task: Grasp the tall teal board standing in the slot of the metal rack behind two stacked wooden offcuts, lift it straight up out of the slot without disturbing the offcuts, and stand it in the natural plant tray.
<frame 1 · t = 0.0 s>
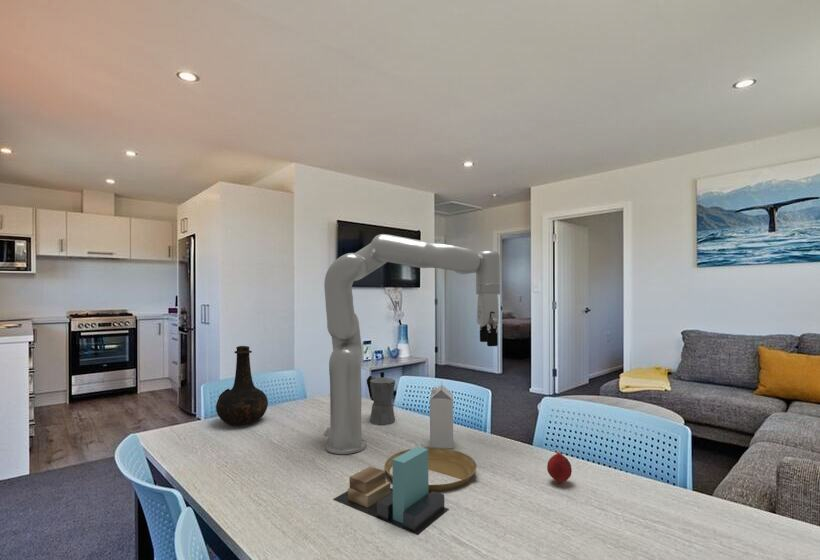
hand: (488, 343, 136), 31 cm above the table, tool pointing down, fingers open, 9 cm apart
onion: (559, 483, 108), on the table
plant saucer: (430, 476, 113), on the table
offcut high: (367, 484, 100), point 3 cm above the table, touching offcut low
glass bottle: (242, 423, 157), on the table
coffeepot: (380, 421, 159), on the table
rack: (389, 508, 96), on the table
milk carton: (441, 445, 135), on the table
teal board: (411, 512, 93), point 1 cm above the table, touching rack
offcut low: (369, 496, 100), point 1 cm above the table, touching offcut high, rack
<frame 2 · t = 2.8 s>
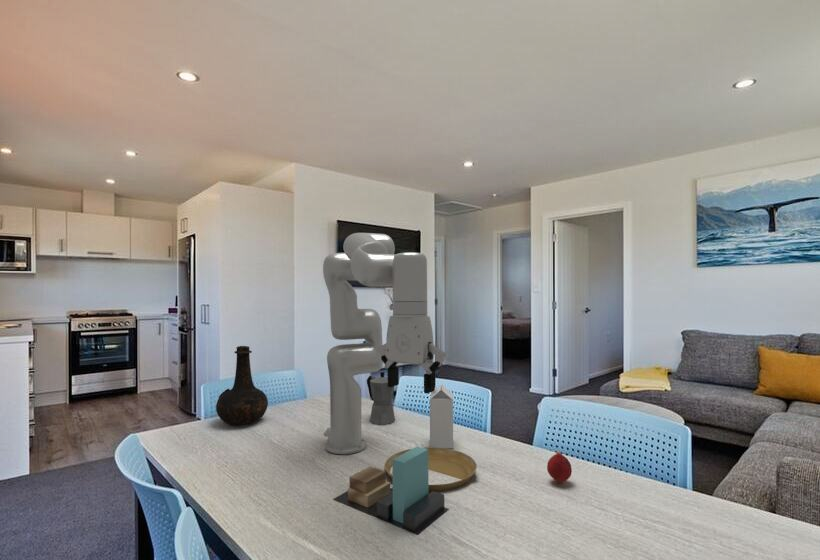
hand: (410, 388, 93), 28 cm above the table, tool pointing down, fingers open, 9 cm apart
nothing on the table moved.
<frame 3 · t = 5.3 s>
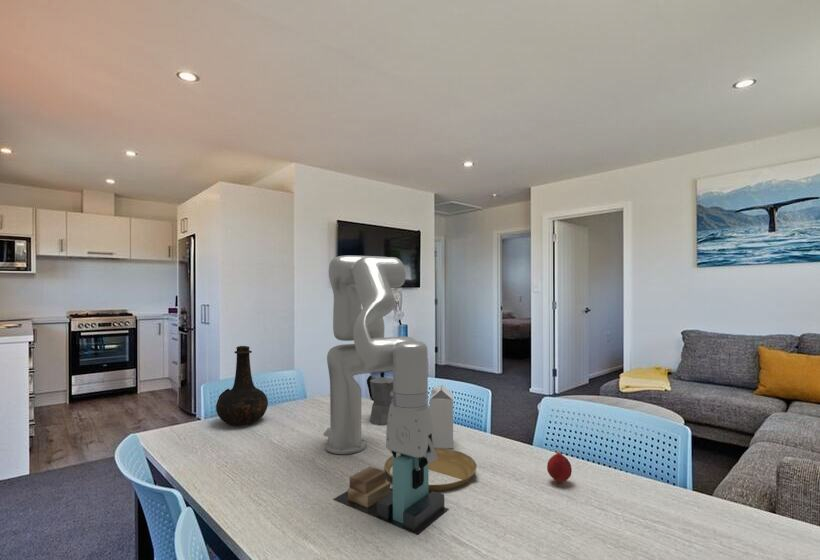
hand: (411, 483, 93), 7 cm above the table, tool pointing down, fingers closed on teal board, 3 cm apart
teal board: (411, 512, 93), point 1 cm above the table, touching gripper, rack
everything else where it was.
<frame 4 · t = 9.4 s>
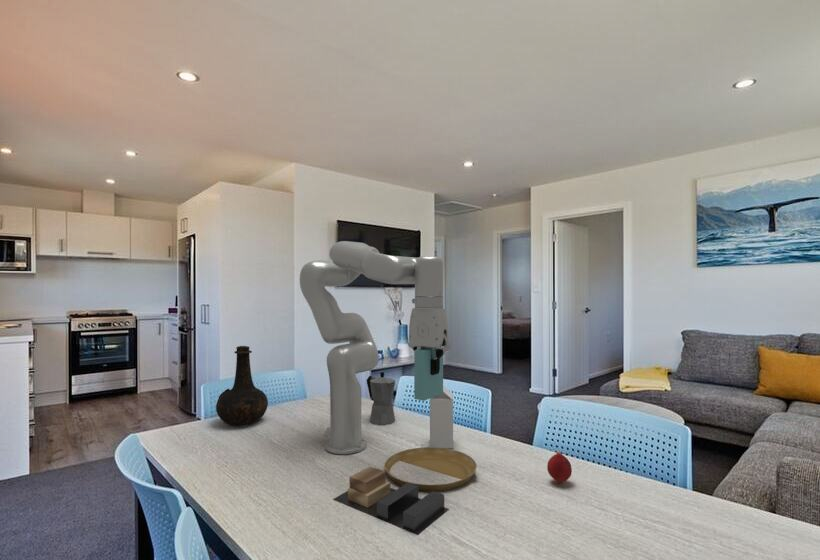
hand: (429, 372, 113), 27 cm above the table, tool pointing down, fingers closed on teal board, 3 cm apart
teal board: (429, 396, 113), point 21 cm above the table, touching gripper
everything else where it was.
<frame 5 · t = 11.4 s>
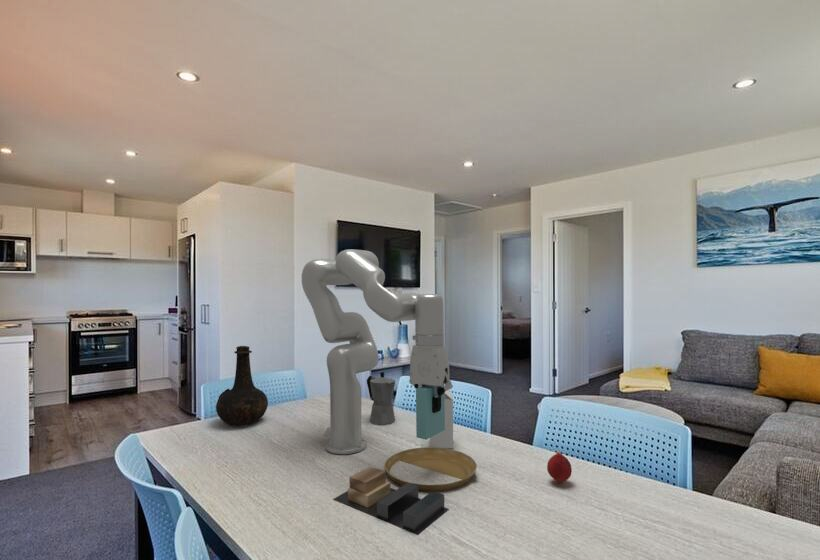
hand: (430, 409, 113), 17 cm above the table, tool pointing down, fingers closed on teal board, 3 cm apart
teal board: (431, 433, 113), point 11 cm above the table, touching gripper
everything else where it was.
when the fingers open (10 cm above the table, at t = 13.4 s): teal board drops 1 cm, point 3 cm above the table.
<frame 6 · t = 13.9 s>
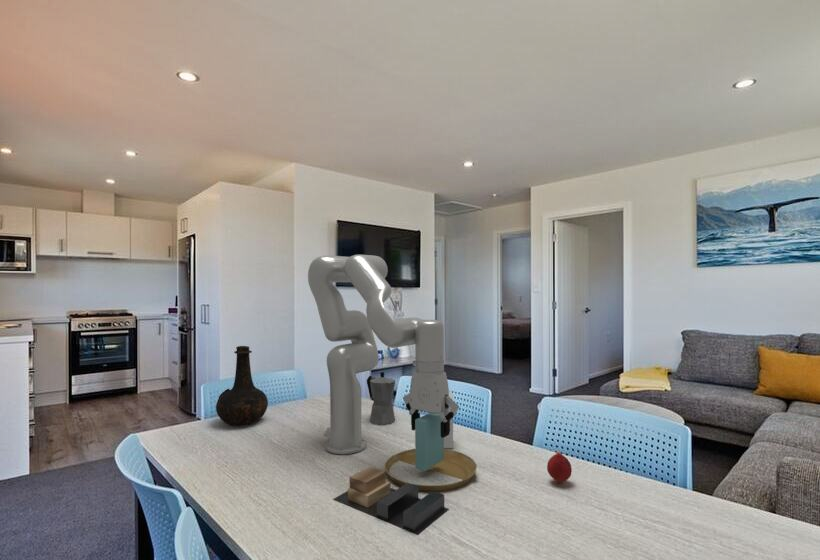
hand: (430, 432, 113), 11 cm above the table, tool pointing down, fingers open, 8 cm apart
teal board: (430, 463, 113), point 3 cm above the table
everything else where it was.
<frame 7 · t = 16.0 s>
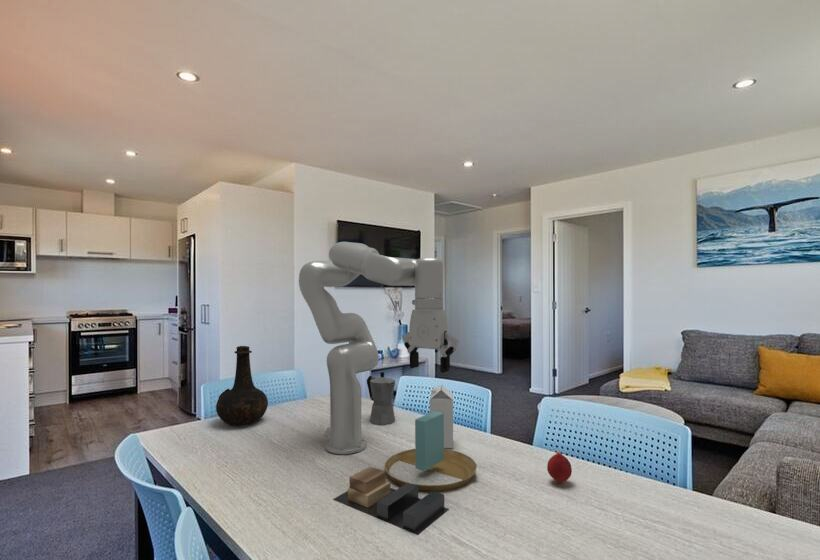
hand: (429, 369, 114), 28 cm above the table, tool pointing down, fingers open, 9 cm apart
plant saucer: (430, 477, 113), on the table, touching teal board
teal board: (430, 463, 113), point 3 cm above the table, touching plant saucer
everything else where it was.
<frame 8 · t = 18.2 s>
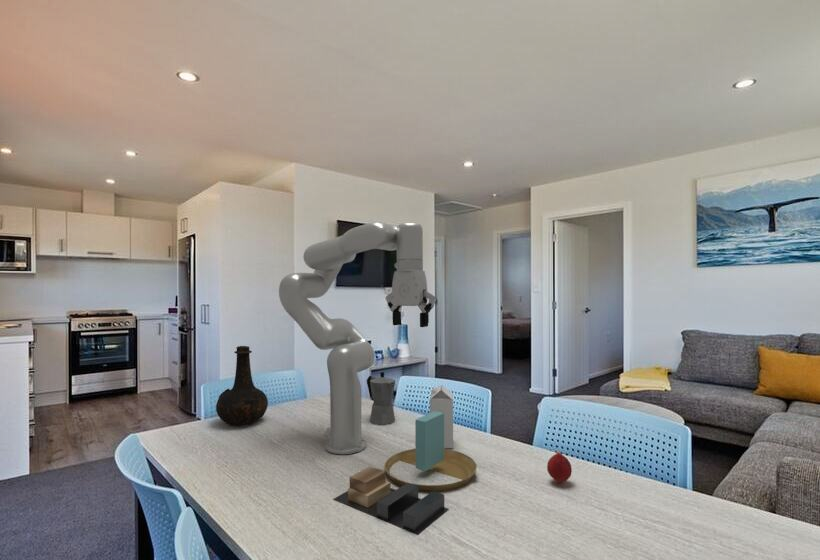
hand: (410, 325, 123), 38 cm above the table, tool pointing down, fingers open, 9 cm apart
nothing on the table moved.
at the end: teal board inside the target area in the plant saucer (0.0 cm from its centre), point 3.5 cm above the plant saucer's base; offcut high moved 0.0 cm from its start; offcut low moved 0.0 cm from its start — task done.
